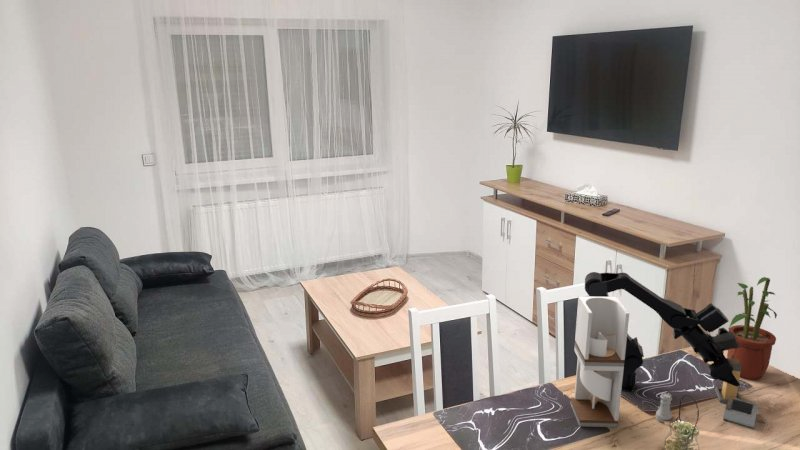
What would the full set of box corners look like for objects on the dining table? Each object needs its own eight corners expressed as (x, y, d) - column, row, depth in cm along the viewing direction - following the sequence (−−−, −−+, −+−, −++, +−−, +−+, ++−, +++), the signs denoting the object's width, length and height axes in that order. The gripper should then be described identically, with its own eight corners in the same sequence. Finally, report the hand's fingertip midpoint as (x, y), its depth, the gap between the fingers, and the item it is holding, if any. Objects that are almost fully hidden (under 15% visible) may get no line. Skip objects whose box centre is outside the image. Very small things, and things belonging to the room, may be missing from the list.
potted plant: (778, 383, 182) (797, 280, 173) (737, 389, 179) (754, 285, 170) (736, 357, 199) (752, 262, 189) (697, 362, 196) (711, 266, 186)
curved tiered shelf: (570, 403, 173) (578, 296, 164) (605, 404, 172) (616, 296, 163) (579, 426, 162) (588, 312, 153) (617, 427, 161) (629, 313, 152)
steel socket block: (723, 423, 162) (725, 409, 161) (727, 409, 169) (729, 395, 168) (753, 432, 158) (755, 418, 157) (756, 417, 165) (758, 404, 164)
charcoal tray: (719, 405, 171) (720, 399, 171) (714, 392, 178) (715, 387, 177) (741, 408, 169) (742, 402, 169) (736, 395, 176) (737, 390, 175)
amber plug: (724, 400, 172) (729, 364, 169) (721, 393, 175) (726, 358, 172) (735, 401, 171) (741, 366, 168) (732, 394, 175) (738, 359, 171)
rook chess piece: (671, 416, 166) (674, 391, 164) (672, 425, 162) (676, 400, 160) (654, 413, 167) (657, 389, 165) (655, 422, 163) (658, 397, 161)
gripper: (729, 338, 160) (768, 379, 159) (715, 311, 177) (750, 348, 176) (694, 359, 164) (732, 399, 164) (684, 332, 181) (719, 368, 181)
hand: (734, 377), depth 171 cm, fingers open, 9 cm apart
